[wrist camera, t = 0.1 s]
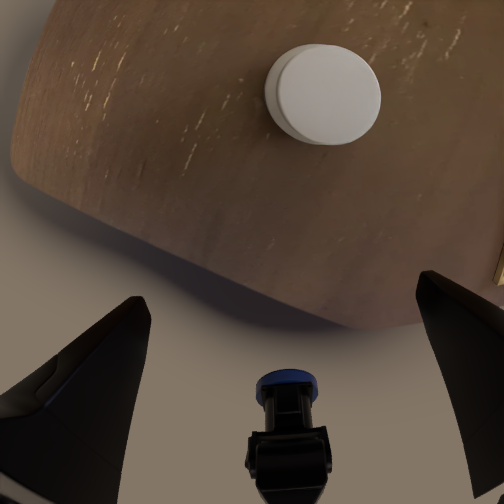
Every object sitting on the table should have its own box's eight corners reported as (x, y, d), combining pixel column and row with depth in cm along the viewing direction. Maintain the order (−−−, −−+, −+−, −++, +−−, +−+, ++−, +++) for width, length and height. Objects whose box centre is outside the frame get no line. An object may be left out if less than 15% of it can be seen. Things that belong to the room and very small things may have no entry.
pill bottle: (260, 59, 18) (260, 31, 10) (336, 59, 18) (389, 38, 9) (265, 131, 21) (270, 157, 13) (339, 130, 21) (391, 157, 12)
